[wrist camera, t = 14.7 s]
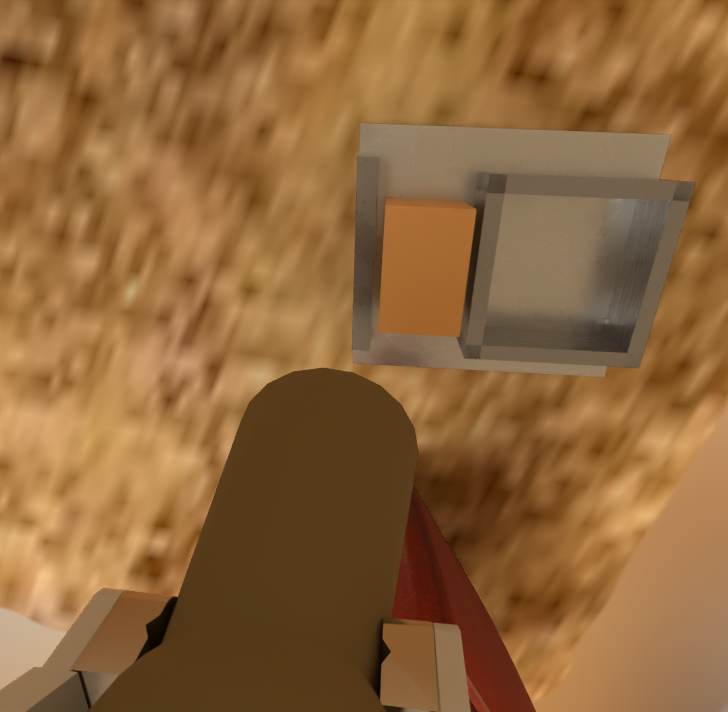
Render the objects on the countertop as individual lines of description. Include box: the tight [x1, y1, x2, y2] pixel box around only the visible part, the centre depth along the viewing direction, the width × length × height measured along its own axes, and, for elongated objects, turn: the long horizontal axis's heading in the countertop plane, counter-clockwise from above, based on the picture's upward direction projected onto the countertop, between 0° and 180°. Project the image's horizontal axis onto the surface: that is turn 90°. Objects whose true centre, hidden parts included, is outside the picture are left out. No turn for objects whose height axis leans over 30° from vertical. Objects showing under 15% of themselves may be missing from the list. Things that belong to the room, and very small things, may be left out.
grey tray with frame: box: [352, 123, 696, 377], centre depth 24 cm, size 15×13×4 cm
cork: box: [88, 368, 418, 712], centre depth 10 cm, size 6×6×11 cm
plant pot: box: [177, 485, 536, 712], centre depth 28 cm, size 19×19×17 cm
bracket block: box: [378, 198, 477, 337], centre depth 23 cm, size 4×6×4 cm, turn 178°
